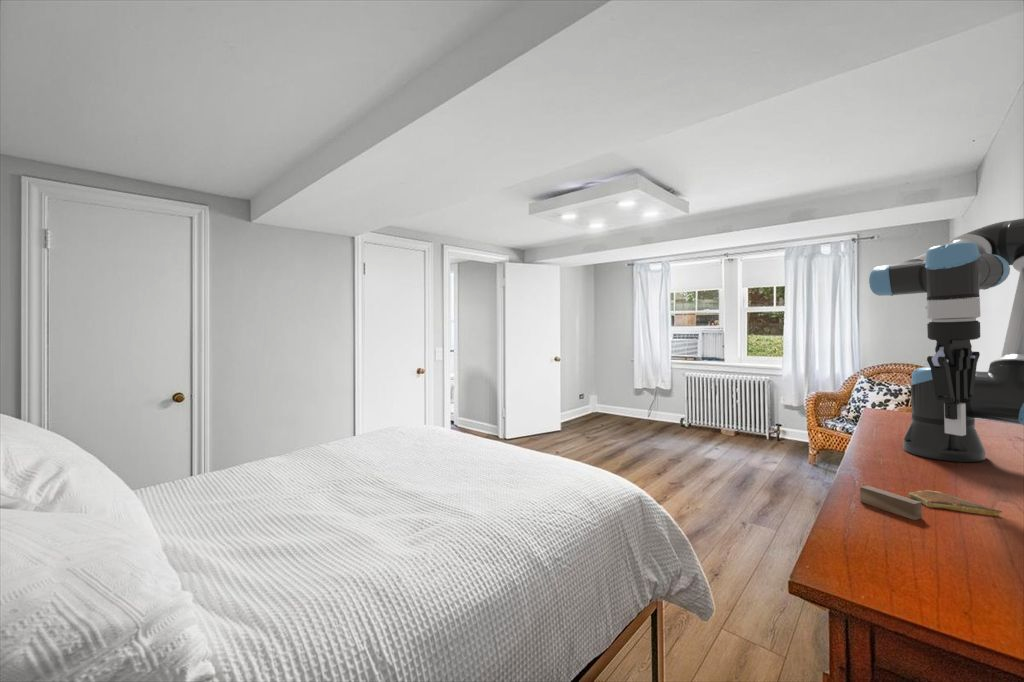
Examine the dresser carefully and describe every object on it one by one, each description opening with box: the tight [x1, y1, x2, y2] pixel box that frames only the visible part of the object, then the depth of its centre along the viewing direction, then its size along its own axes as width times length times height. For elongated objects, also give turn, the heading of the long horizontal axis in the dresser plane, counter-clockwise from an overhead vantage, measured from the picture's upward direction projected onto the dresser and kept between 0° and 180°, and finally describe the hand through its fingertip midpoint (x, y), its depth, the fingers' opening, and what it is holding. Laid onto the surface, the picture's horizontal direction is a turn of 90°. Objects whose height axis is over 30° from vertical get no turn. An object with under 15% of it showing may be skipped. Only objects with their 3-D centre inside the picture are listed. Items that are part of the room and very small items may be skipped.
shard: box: [907, 489, 1003, 517], centre depth 82 cm, size 11×8×2 cm
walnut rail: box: [859, 485, 923, 521], centre depth 82 cm, size 2×9×3 cm, turn 19°
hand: (955, 433), depth 88 cm, fingers closed
